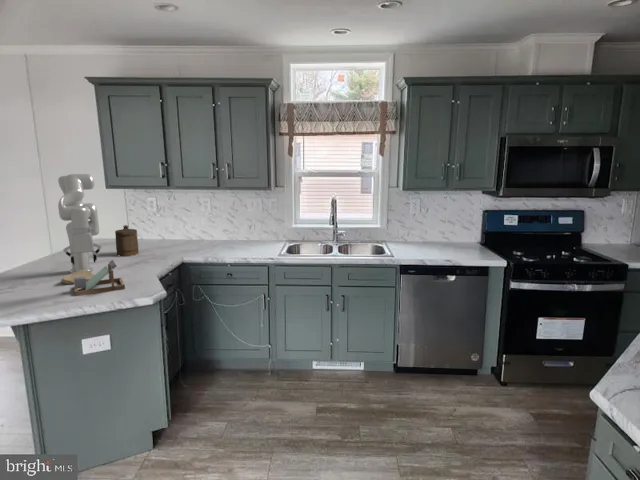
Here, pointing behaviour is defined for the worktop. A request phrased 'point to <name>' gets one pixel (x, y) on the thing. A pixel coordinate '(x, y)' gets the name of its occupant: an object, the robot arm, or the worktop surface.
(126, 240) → the wooden container
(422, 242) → the worktop surface
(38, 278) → the worktop surface
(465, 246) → the worktop surface
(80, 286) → the block
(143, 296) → the worktop surface
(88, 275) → the rock
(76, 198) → the robot arm
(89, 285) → the trapdoor
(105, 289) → the frame
